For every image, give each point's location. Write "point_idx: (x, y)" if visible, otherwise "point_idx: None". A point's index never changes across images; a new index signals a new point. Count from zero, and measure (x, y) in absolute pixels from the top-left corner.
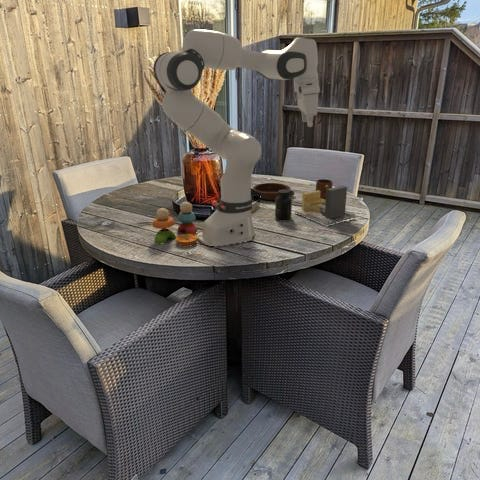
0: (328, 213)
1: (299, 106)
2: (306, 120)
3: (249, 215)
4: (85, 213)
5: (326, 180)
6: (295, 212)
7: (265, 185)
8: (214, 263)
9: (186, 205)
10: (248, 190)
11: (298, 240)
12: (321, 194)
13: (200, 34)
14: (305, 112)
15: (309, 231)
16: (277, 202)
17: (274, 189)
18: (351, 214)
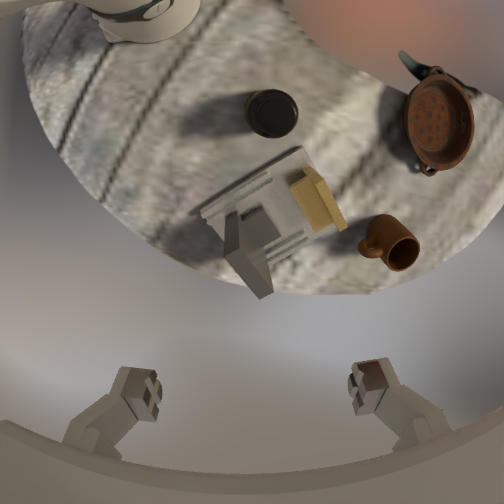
0: (226, 223)
1: (445, 465)
2: (350, 387)
3: (110, 24)
4: None
5: (413, 260)
6: (299, 147)
7: (467, 117)
8: (31, 14)
9: None
10: (84, 5)
11: (117, 139)
12: (377, 232)
13: None
14: (40, 455)
15: (170, 165)
16: (257, 93)
17: (456, 136)
18: None
